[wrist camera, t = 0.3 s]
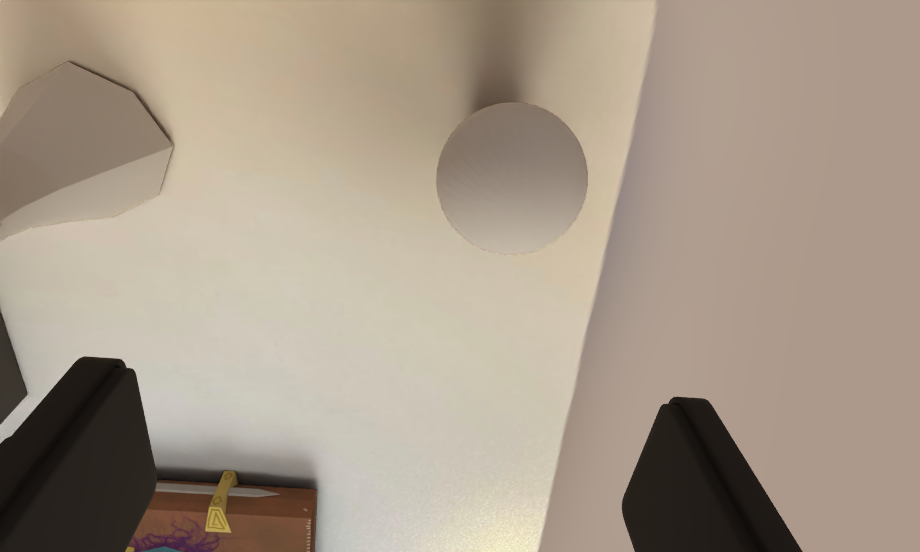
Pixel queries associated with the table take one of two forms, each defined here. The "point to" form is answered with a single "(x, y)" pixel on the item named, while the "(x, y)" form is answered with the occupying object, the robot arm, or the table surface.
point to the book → (226, 518)
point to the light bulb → (512, 178)
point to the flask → (76, 151)
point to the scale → (9, 377)
